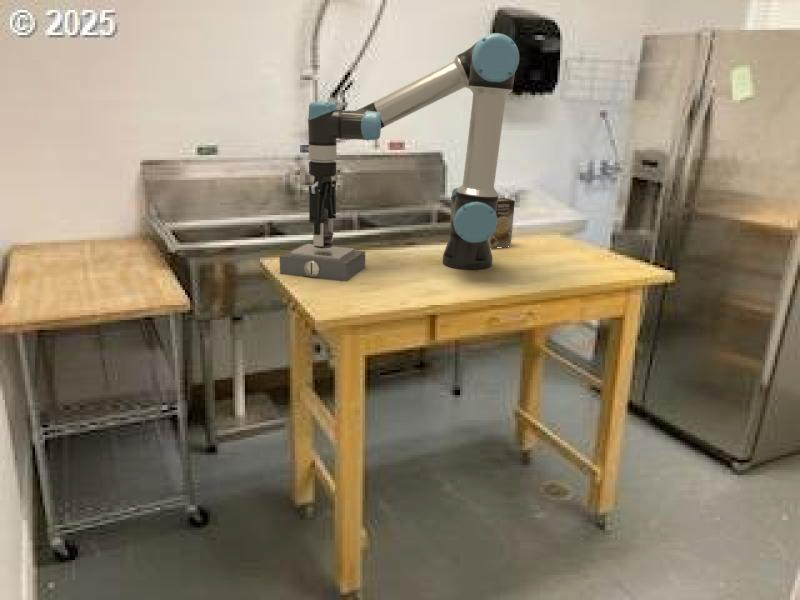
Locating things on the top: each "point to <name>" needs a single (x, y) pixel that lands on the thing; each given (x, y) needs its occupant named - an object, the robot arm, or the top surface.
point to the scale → (323, 262)
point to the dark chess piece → (325, 230)
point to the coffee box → (503, 224)
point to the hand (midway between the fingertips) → (323, 243)
